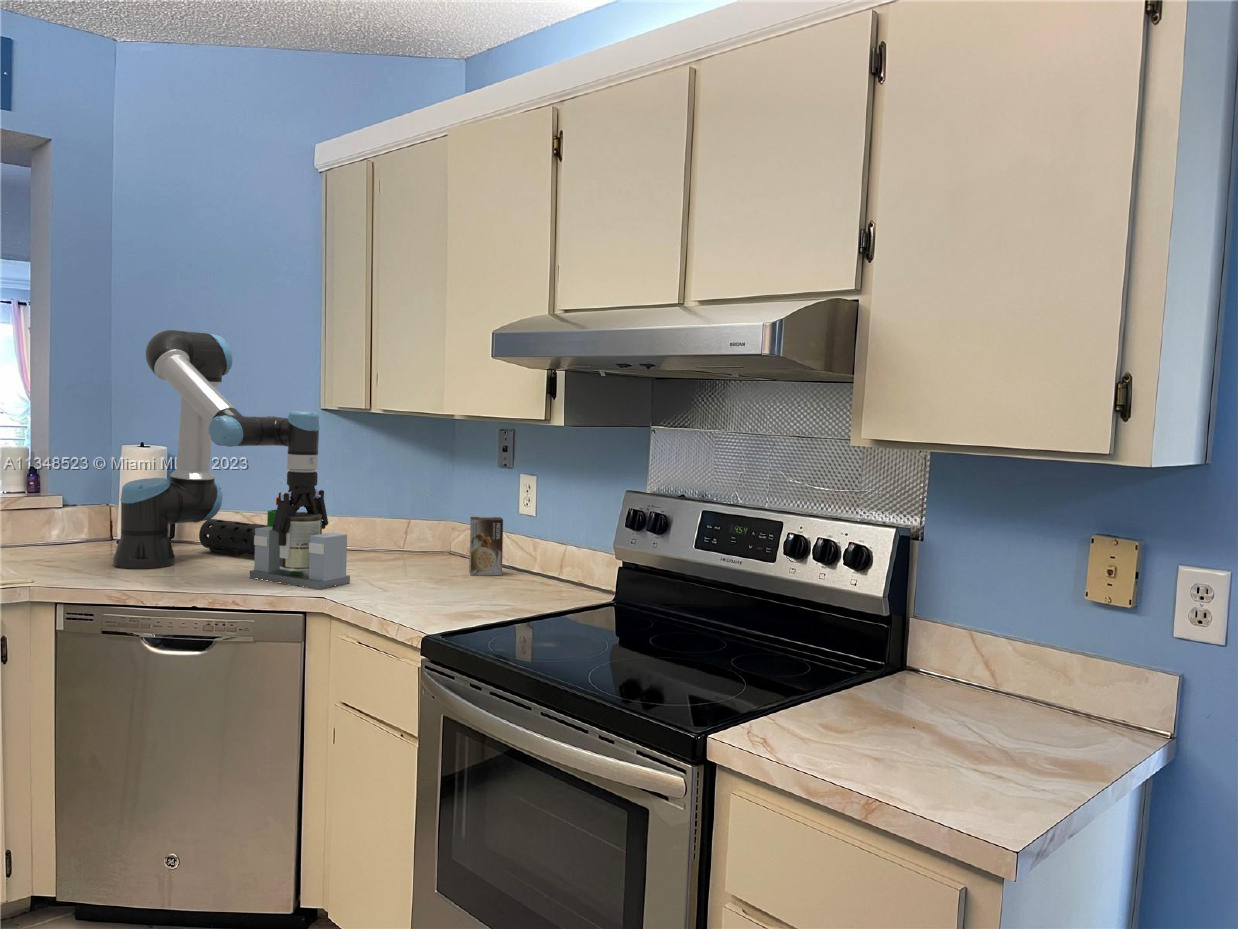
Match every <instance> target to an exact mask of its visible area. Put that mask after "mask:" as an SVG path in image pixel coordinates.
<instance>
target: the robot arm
mask: <svg viewBox="0 0 1238 929" xmlns="http://www.w3.org/2000/svg"><path fill="white" fill-rule="evenodd" d="M145 360H146V363H147V365H148V367H149V369H150V370H151V371H152V373H153V374H155V376H156V377H157V378H158V379H160V380H161V381H165V382H166V381H167V383H168V384H170V385H171V387H173V390H175V391H176V392H177V393H178V394H179V395H180V396H181V398H180V414H179V415H180V416H179V427H178V428H179V429H178V444H177V456H176V457H177V459H176V469H175V470H174V471H173V472H171V473H170V475H169V479H168V478H165V477H153V478H140V479H133V480H131V481H128V482H126V483H124V484H123V486H122V488H121V494H120V496H121V497H120V506H121V507H120V538H119V540H118V543H117V546H116V549H115V553H114V554H113V557H112V560H113V561H112V564H113V567H116V568H121V569H133V570H134V569H157V568H164V567H169V566H173V565H175V562H176V561H175V560H176V557H175V556H176V555H175V553H174V550H173V546H172V543H171V541H170V537H169V525H174V524H186V523H195V524H196V523H200V522H206V521H207V520H210V519H214V517H215V516H216V515H217V514H218V513H219V511H220V509H221V506H222V505H223V492H222V490H221V489H222V488H221V486H220V484H219V483H218V482H216V481H215V476H214V474H213V473H212V472H211V470H210V467H211V452H212V443H214V444H215V445H217V446H219V447H220V446H221V447H228V448H230V447H246V446H247V447H250V446H251V447H252V446H254V447H255V446H257V447H258V446H259V447H261V446H262V447H263V446H264V447H265V446H268V447H269V446H270V447H271V446H275V447H276V446H278V447H287V462H286V463H287V464H286V465H287V466H286V468H287V470H288V471H287V472H286V484H287V486H288V491H287V492H281V491H280V492H278V497H279V502H278V505H276V506H277V508H276V509H275V510H276V514H275V518H274V522H273V526H272V530H273V531H276V532H278V533H279V545H280V558H285V559H290V533H287V532H288V530H289V528H290V522H291V520H290V518H286V516H288V517H295V514H296V512H298V511H299V510H300V508H302V507H303V508H305V510H306V512H307V513H308V514H318V513H319V514H322V520H321V534H323V530H325V529H326V526H328V525H329V519H328V516H327V515H328V512H327V509H326V503H325V499H324V498H325V491H324V490H323V489H316V486H317V485H318V472H317V470H318V468H319V466H318V464H319V457H318V456H319V443H320V442H319V441H320V440H319V439H320V417H319V416H320V415H319V414H318V413H317V412H316V411H306V410H305V411H303V410H291V411H289V413H288V417H281V416H280V417H279V416H273V415H272V416H271V415H268V416H245V415H242V413H240V412H239V411H238V410H237V409H236V407H234V406H233V404H231V403H230V401H228V400H227V398H225V396H224V395H222V393H221V392H220V391H218V389H217V387H218V386H220V385H221V384H222V382H223V381H222V380H223V376H224V377H225V375H227V374H228V373H229V372H230V370H232V367H233V366H232V365H233V353H232V349H231V347H230V345H229V344H228V342H227V341H226V339H224V338H223V337H222V336H220V335H217V334H212V333H208V332H195V331H187V330H186V331H185V330H178V329H177V330H176V329H168V330H163V331H160V332H158V333H156V334H155V335H153V336H152V338H151V339H150V340H149V341H148V343H147V345H146V348H145Z"/></svg>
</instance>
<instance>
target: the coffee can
mask: <svg viewBox="0 0 1238 929" xmlns="http://www.w3.org/2000/svg"><path fill="white" fill-rule="evenodd" d="M286 518H290V520H291V522H290V528H289V530H288V532H287V533H290V559H285V558H280V567H279V568H280V569H281V570H285V571H309V557H310V553H309V543H310V536H312V535H319V534H321V520H322V514H319V513H318V514H308V513H307V511H299V512H298V511H297V512H296V514H295V517H288V516H286ZM322 521H323V520H322Z"/></svg>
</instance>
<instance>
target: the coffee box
mask: <svg viewBox="0 0 1238 929" xmlns="http://www.w3.org/2000/svg"><path fill="white" fill-rule="evenodd" d="M469 526H470V528H469V532H470V533H469V565H468V567H469V568H468V573H469V575H470V576H503V553H504V551H503V550H504V548H503V547H504V546H503V543H504V519H503V518H502V517H501V516H497V517H495V516H470V525H469Z"/></svg>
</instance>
